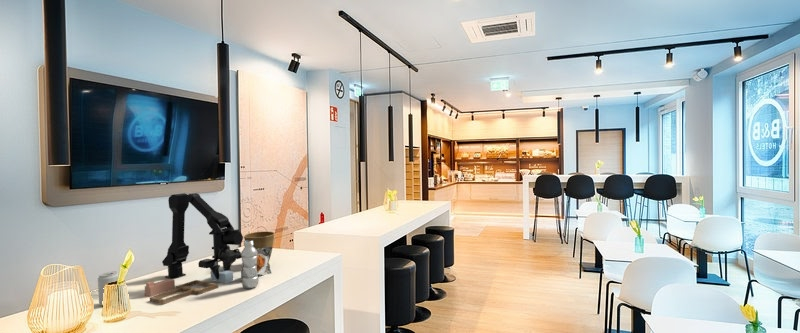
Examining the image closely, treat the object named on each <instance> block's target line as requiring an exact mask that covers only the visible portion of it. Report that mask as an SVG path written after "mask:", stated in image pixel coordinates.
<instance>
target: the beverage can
mask: <svg viewBox="0 0 800 333" xmlns="http://www.w3.org/2000/svg"><path fill="white" fill-rule="evenodd" d="M118 279H119V274H118V272H117V271H108V272H103V273H100V274H99V275H98V278H97V286H98V287H97V288H98V289H97V290H98V305H100V306H102V301H103V293H104V289H103V288H104V286H105V284H107V283H110V282H115V281H118Z"/></svg>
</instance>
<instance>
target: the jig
mask: <svg viewBox="0 0 800 333" xmlns="http://www.w3.org/2000/svg"><path fill="white" fill-rule="evenodd" d="M194 285H197V286H202V287H204V288H199V287H198V288H197V287H193V286H194ZM218 288H219V284H218V283H214V282H208V281H203V280H200V279H199V280H197V279H195V280H191V281H189V282H185V283H183V284H179V285H175V289H172V290H169V291H166V292H163V293H160V294H158V295H155V296H152V297H150V296H149V302H150V303H153V304H159V305H166V304H168V303H169V304H170V303H171V302H174V301H176V300H179V299H182V298H186V297H188V296H191V295H201V294H202V295H203V294H204V293H207V292H210V291H213V290H215V289H218ZM178 293H179V294H178ZM175 294H176V295H175ZM169 296H170V297H169Z"/></svg>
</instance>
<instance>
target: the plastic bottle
mask: <svg viewBox="0 0 800 333" xmlns="http://www.w3.org/2000/svg"><path fill="white" fill-rule="evenodd" d="M253 245H254V244H253V240H247V241H245V240H244V242H243V246H244V247H243V249H242V251H241V258H240V259H241V264H242V263H243V278H242V281H241V285H242V287H243V289H253V288H256V287H258V285H259V279H260V278H259V276H257V266H256V265H257V255H258V252H257V250H256V249H255V248H254V247H253Z"/></svg>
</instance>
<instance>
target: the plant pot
mask: <svg viewBox="0 0 800 333" xmlns="http://www.w3.org/2000/svg"><path fill="white" fill-rule="evenodd" d="M243 239H244V241H247V240H253V244H254V245H253V247H254V248H255V249H261V248H267V247H272V249H271V250H270V251H271V255H270V257H269V259H268V263H269V264H270V259H271V256H272V252H273V248H274V242H275V232H273V231H255V232H249V233H246V234H244V235H243Z"/></svg>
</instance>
